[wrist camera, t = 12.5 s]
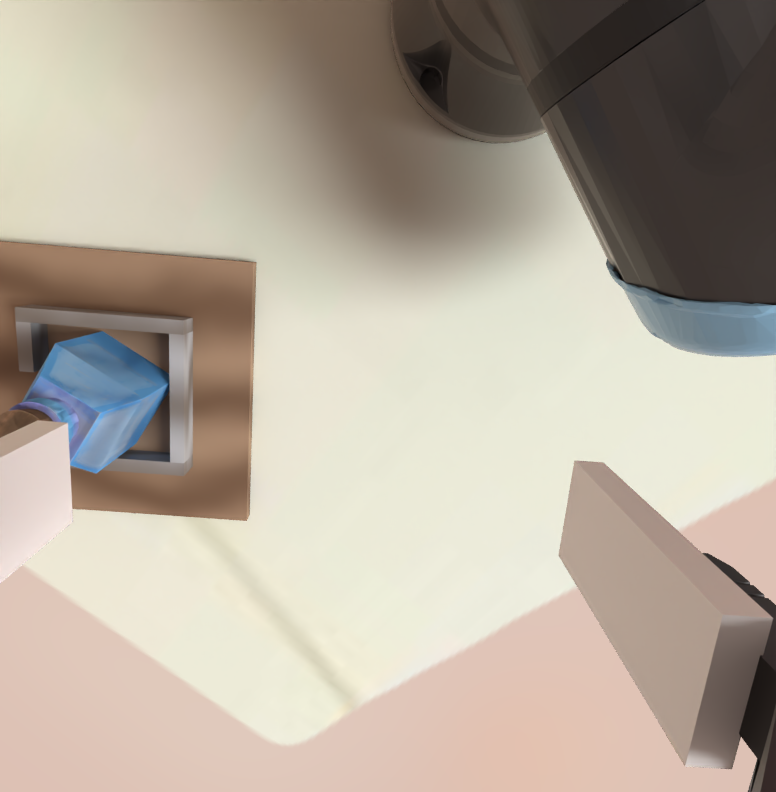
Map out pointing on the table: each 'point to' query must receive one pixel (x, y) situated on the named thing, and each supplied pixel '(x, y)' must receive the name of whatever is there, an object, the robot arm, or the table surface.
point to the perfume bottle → (93, 398)
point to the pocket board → (158, 343)
